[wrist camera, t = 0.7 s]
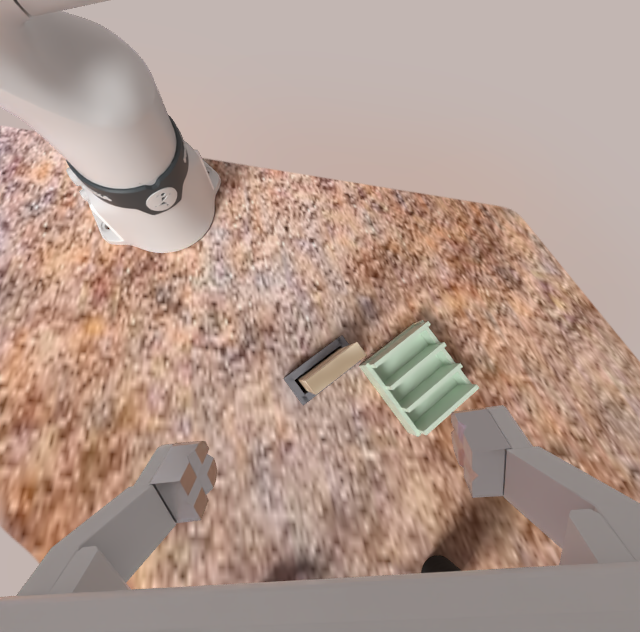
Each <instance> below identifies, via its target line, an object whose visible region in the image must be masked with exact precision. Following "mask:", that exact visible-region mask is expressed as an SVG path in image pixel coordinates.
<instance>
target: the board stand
mask: <svg viewBox="0 0 640 632" xmlns="http://www.w3.org/2000/svg"><path fill="white" fill-rule="evenodd" d="M348 345H349V344H348V343H347V341H346V340H345V338H344V337H343V336H340V337H338V338H337V339H336V340H334V341H333V342H331V343H330V344H329V345H327V346H326V347H325V348H323V349H322V350H321V351H319V352H318V353H317V354H315V355H314V356H313V357H311V358H310V359H309V360H307V361H306V362H305V363H303V364H302V365H301V366H299V367H298V368H297V369H295V370H294V371H293V372H291V373H290V374H289V375H287V376H286V377H284V378H283V379H284V380H285V381H286V383H287V384H288V386H289V387H290V388H291V390H292V391H293V393H294V394H295V395H296V397H297V398H298V400H299V401H300V402H301V404H302V405H305V404H306V403H307V402H308V401H310V400H311V399H312V398H314V397H315V396H316V395H317V394H316V395H315V394H313V393H311V392H309V391H306V392H304V393H303V391H302V390H301V389H300V387H299V386H298V384H297V383H296V382H295V379H297V378H298V377H299V376H300V375H302V374H303V373H304V372H306V371H307V370H308V369H310V368H311V367H312V366H314V365H315V364H316V363H318V362H319V361H320V360H322V359H323V358H324V357H326V356H327V355H328V354H330V353H331V352H332V351H334V350H335V349H336V348H338V349H341V348H343V347H346V346H348ZM360 361H361V360H360ZM360 361H359V362H360ZM357 363H358V362H357ZM357 363H356V364H357ZM356 364H355V365H356ZM355 365H354V366H355ZM352 367H353V366H352ZM352 367H351V368H352ZM351 368H350V369H351ZM350 369H348V370H350ZM348 370H347V371H348ZM347 371H346V372H347ZM346 372H345V373H346ZM343 374H344V373H343ZM343 374H342V375H343ZM342 375H341V376H342ZM341 376H339V377H341ZM339 377H338V378H339ZM338 378H337V379H338ZM337 379H336V380H337ZM334 381H335V380H334ZM334 381H333V382H334ZM333 382H332V383H333ZM332 383H330V384H332ZM330 384H329V385H330ZM329 385H328V386H329ZM328 386H327V387H328ZM325 388H326V387H325ZM325 388H324V389H325ZM324 389H323V390H324ZM323 390H321V391H323ZM321 391H320V392H321ZM320 392H319V393H320ZM319 393H318V394H319Z"/></svg>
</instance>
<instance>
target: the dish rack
mask: <svg viewBox="0 0 640 632" xmlns="http://www.w3.org/2000/svg"><path fill="white" fill-rule="evenodd" d="M430 325H431V324H430V323H429V321H427V322H424V321H423V320H421V321H418V322H416V323H413V324H412V325H411V326H409V327H408V328H407V329H405V330H404V331H403V332H402V333H400V334H399V335H398V336H396V337H395V338H394V339H393V340H391V341H390V342H389V343H388V344H386V345H385V346H384V347H382V348H381V349H380V350H379V351H377V352H376V353H375V354H373V355H372V356H371V357H370V358H368V359H367V360H366V361H365V362H363V363H362V364H361V365H359V367H360V368H361V369H362V371H363V372H364V374H365V375H366V376H367V378H368V379H369V380H370V382H371V383H372V384H373V386H374V387H375V388H376V390H377V391H378V393H379V394H380V395H381V397H382V398H383V399H384V401H385V402H386V403H387V405H388V406H389V407H390V409H391V410H392V411H393V413H394V414H395V416H396V417H397V418H398V420H399V421H400V422H401V424H402V425H403V426H404V428H405V429H406V430H407V432H408V433H410V434H413V435H415V436H417V437H418V436H420V435H421V433H422V434H424V435H427V434H428V433H430V432H431V431H432V430H433V429H434V428H435V427H436V426H437V425H439V424H440V423H441V422H442V421H443V420H444V419H445V418H446V417H448V416H449V415H450V414H451V413H452V412H453V411H454V410H455V409H456V408H458V407H459V406H460V405H461V404H462V403H463V402H464V401H465V400H467V399H468V398H469V397H470V396H471V395H472V394H473V393H474V392H475V391H477V390H478V389H479V387H478V386H477V385H476V384H471V382H470V381H469V380H468V379H467V377H466V376H465V375H464V373H463V372H462V371H461V368H462V367H463V366H462V365H461V363H455V361H454V360H453V359H452V358H451V356H450V355H449V354H448V352H447V351H446V350H445V347H446V346H447V345H446V344H445V342H442V343H440V342H439V340H438V339H437V338H436V336H435V335H434V334H433V333H432V331H431V330H430V329H429V327H428V326H430Z"/></svg>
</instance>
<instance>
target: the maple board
mask: <svg viewBox="0 0 640 632" xmlns="http://www.w3.org/2000/svg"><path fill="white" fill-rule="evenodd" d="M365 356H366V353H365V352H364V351H363V349H362V348H361V347H360V345H359V344H358V343H357V342H355V343H353V344H350V345H348V346H346V347H343V348H341V349H338V350H336V351H334V352H333V353H331V354H330V355H329V356H327V357H326V358H325V359H324V360H322V361H321V362H320V363H318V364H317V365H316V366H314V367H313V368H312V369H310V370H309V371H308V372H306V373H305V374H304V375H302V376H301V377H300V378H298V379H297V380H298V381H299V383H300V384H301V385H302V387H303V388H304V390H306V391H309V392H311V393H313V394H315V395H316V394H318V393H319V392H320V391H321V390H323V389H324V388H325V387H327V386H328V385H329V384H330V383H332V382H333V381H334V380H336V379H337V378H338V377H339V376H341V375H342V374H343V373H345V372H346V371H347V370H348V369H350V368H351V367H352V366H354V365H355V364H356V363H357V362H359V361H360V360H361V359H363V358H364V357H365Z"/></svg>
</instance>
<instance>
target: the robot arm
mask: <svg viewBox="0 0 640 632" xmlns="http://www.w3.org/2000/svg"><path fill="white" fill-rule="evenodd" d="M104 1H108V0H0V108H2V109H4V110H6V111H8V112H10V113H11V114H13V115H14V116H16V117H18V118H19V119H21V120H22V121H24V122H25V123H26V124H28V125H29V126H30V127H31V128H33V129H34V130H35V131H36V132H37V133H38V134H39V135H40V136H42V137H43V138H44V139H45V140H46V141H47V142H48V143H49V144H50V145H52V146H53V147H54V148H55V149H56V150H57V151H58V152H59V153H60V154H61V155H62V156H63V157H64V158H65V159H66V161H67V163H68V165H69V167H70V168H67V173H68V175H69V177H70V178H71V180H72V181H73V182H74V184H75V185H77V186H82V189H83V190H80V191H79V192H80V194H81V196H82V198H83V199H84V200H85V201H88V203H89V206H90V208H91V211H92V213H93V216H94V218H95V221H96V223H97V225H98V228H99V230H100V233H101V235H102V237H103V238H104V240H105V241H106V242H107V243H109V244H114V245H132V246H135V247H138V248H141V249H143V250H146V251H150V252H157V253H169V252H175V251H179V250H182V249H185V248H187V247H189V246H191V245H193V244H194V243H196V242H197V241H198V240H199V239H201V238H202V237H203V236H204V234H205V233H206V232H207V230H208V229H209V227H210V225H211V223H212V220H213V217H214V212H215V195H216V193H217V191H218V189H219V187H220V184H221V179H220V176H219V174H218V173H217V172H216V171H215V170H214V169H213V168H212V167H210V166H209V165H208V164H207V163H206V162H205V161H204V160H203V159H202V158H201V155H200V153H199V152H198V151H197V150H194V149H193V148H192V147H191V146H190V145H188V144H187V143H186V142H185V141H184V140H183V137H182V135H181V133H180V131H179V129H178V128H177V127H176V124H175V123H174V121H173V119H172V118H171V117H170V116H169V115H168V114H167V111H166V109H165V106H164V104H163V101H162V99H161V96H160V94H159V91H158V89H157V86H156V84H155V82H154V79H153V77H152V74H151V72H150V70H149V69H148V67H147V65H146V64H145V62H144V61H143V59H141V57H140V56H139V55H138V54H137V52H136V51H135V50H133V49H132V48H131V47H130V46H129V45H128V44H127V43H126V42H124V41H123V40H122V39H121V38H119V37H118V36H117V35H116V34H114V33H112V32H111V31H110V30H108V29H107V28H105V27H103V26H101V25H100V24H97V23H95V22H93V21H90V20H88V19H85V18H82V17H79V16H76V15H72V14H69V13H66V12H62V10H67V9H71V8H76V7H80V6H85V5H90V4H95V3H99V2H104ZM208 173H209V174H208ZM108 227H109V228H110V229H107V228H108ZM451 422H452V425H453V427H454V430H453V431H452V442H453V448H454V452H455V455H456V458H457V461H458V463H459V465H461V466H462V467H463V468H464V478H465V481H466V483H467V486H468V488H469V490H470V493H471V495H472V498H475V497H493V496H504V498H505V499H506V500H507V501H508V502H510V503H511V504H512V505H513V506H514V507H515V508H516V509H518V510H519V511H520V512H521V513H522V514H523V515H524V516H525V517H527V518H528V519H529V520H530V521H531V522H532V523H533V524H535V525H536V526H537V527H538V528H539V529H540V530H541V531H542V532H544V533H545V534H546V535H547V536H548V537H549V538H550V539H552V540H553V541H554V542H555V543H556V544H557V545H558V546H559V547H561V548H562V554H561V559H560V564H559V566H541V567H523V568H505V569H488V570H470V571H452V572H435V573H417V574H400V575H382V576H365V577H347V578H330V579H312V580H294V581H277V582H259V583H241V584H223V585H206V586H188V587H170V588H152V589H134V590H131V589H130V587H129V586H128V585H127V584H126V582H127V581H128V580H129V579H130V577H131V576H132V575H133V574H134V573H135V572H136V571H137V569H138V568H139V567H140V566H141V565H142V564H143V562H144V561H145V560H146V559H147V558H148V557H149V555H150V554H151V553H152V552H153V551H154V550H155V549H156V547H157V546H158V545H159V544H160V543H161V542H162V540H163V539H164V538H165V537H166V536H167V535H168V533H169V532H170V531H171V530H172V529H173V528H174V527H175V525H176V523H180V522H189V521H198V520H201V519H202V516H203V514H204V511H205V508H206V506H207V503H208V497H207V493H208V492H209V491H210V490H211V489H212V488H213V487H214V484H215V482H216V476H217V467H216V463H215V460H214V458H213V457H211V456H210V455H208V454H207V453H208V450H209V447H208V446H207V444H206V442H205V441H195V442H184V443H175V444H164V445H161V446H159V447H158V448H157V450H156V451H155V453H154V454H153V456H152V457H151V459H150V461H149V462H148V464H147V465H146V467H145V469H144V470H143V472H142V473H141V475H140V476H139V478H138V480H137V481H136V483H135V484H134V486H133V487H128V488H127V489H126V490H124V491H123V492H122V493H121V494H119V495H118V496H117V497H116V498H114V499H113V500H112V501H110V502H109V503H108V504H107V505H105V506H104V507H103V508H102V509H100V510H99V511H98V512H97V513H95V514H94V515H93V516H91V517H90V518H89V519H88V520H86V521H85V522H84V523H83V524H81V525H80V526H79V527H77V528H76V529H75V530H74V531H72V532H71V533H70V534H69V535H67V536H66V537H65V538H63V539H62V540H61V541H60V542H58V543H57V544H56V545H55V546H53V547H52V548H51V549H50V551H49V552H48V553H47V555H46V556H45V557H44V559H43V560H42V561H41V563H40V564H39V566H38V567H37V568H36V570H35V571H34V572H33V574H32V575H31V577H30V578H29V579H28V581H27V582H26V583H25V585H24V586H23V587H22V589H21V590H20V591H19V593H18V594H17V595H16V596H9V597H0V632H640V503H638V502H636V501H634V500H633V499H631V498H629V497H627V496H626V495H624V494H622V493H620V492H619V491H617V490H615V489H613V488H611V487H610V486H608V485H606V484H604V483H603V482H601V481H599V480H597V479H596V478H594V477H592V476H590V475H588V474H587V473H585V472H583V471H581V470H580V469H578V468H576V467H574V466H573V465H571V464H569V463H567V462H565V461H564V460H562V459H560V458H558V457H557V456H555V455H553V454H551V453H550V452H548V451H546V450H544V449H543V448H541V447H539V446H537V447H533V446H532V444H531V443H530V442H529V440H528V439H527V437H526V436H525V434H524V433H523V431H522V430H521V429H520V427H519V426H518V424H517V423H516V421H515V420H514V418H513V417H512V416H511V414H510V413H509V411H508V410H507V408H506V407H504V406H503V405H502V406H494V407H486V408H479V409H471V410H463V411H455V412H452V413H451Z"/></svg>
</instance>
